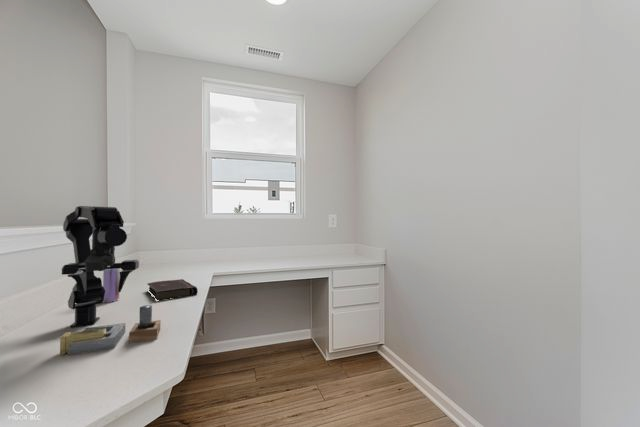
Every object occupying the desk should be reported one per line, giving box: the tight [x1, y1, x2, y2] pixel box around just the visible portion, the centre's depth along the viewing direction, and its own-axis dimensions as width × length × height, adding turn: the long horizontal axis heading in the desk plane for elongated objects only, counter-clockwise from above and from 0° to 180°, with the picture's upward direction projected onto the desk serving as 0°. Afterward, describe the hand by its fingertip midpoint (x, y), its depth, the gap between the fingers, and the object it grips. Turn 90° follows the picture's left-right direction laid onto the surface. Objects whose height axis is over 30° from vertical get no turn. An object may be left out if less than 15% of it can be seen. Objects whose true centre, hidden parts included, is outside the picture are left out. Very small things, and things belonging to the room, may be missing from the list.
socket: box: [67, 322, 126, 356], centre depth 78 cm, size 12×10×3 cm
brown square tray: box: [128, 319, 161, 344], centre depth 83 cm, size 8×7×3 cm
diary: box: [146, 278, 199, 301], centre depth 135 cm, size 19×25×5 cm
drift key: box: [59, 328, 106, 356], centre depth 74 cm, size 3×9×5 cm, turn 114°
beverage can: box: [102, 268, 121, 303], centre depth 122 cm, size 6×6×15 cm
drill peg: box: [138, 304, 153, 329], centre depth 83 cm, size 3×3×9 cm
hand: (102, 293), depth 86 cm, fingers open, 9 cm apart
